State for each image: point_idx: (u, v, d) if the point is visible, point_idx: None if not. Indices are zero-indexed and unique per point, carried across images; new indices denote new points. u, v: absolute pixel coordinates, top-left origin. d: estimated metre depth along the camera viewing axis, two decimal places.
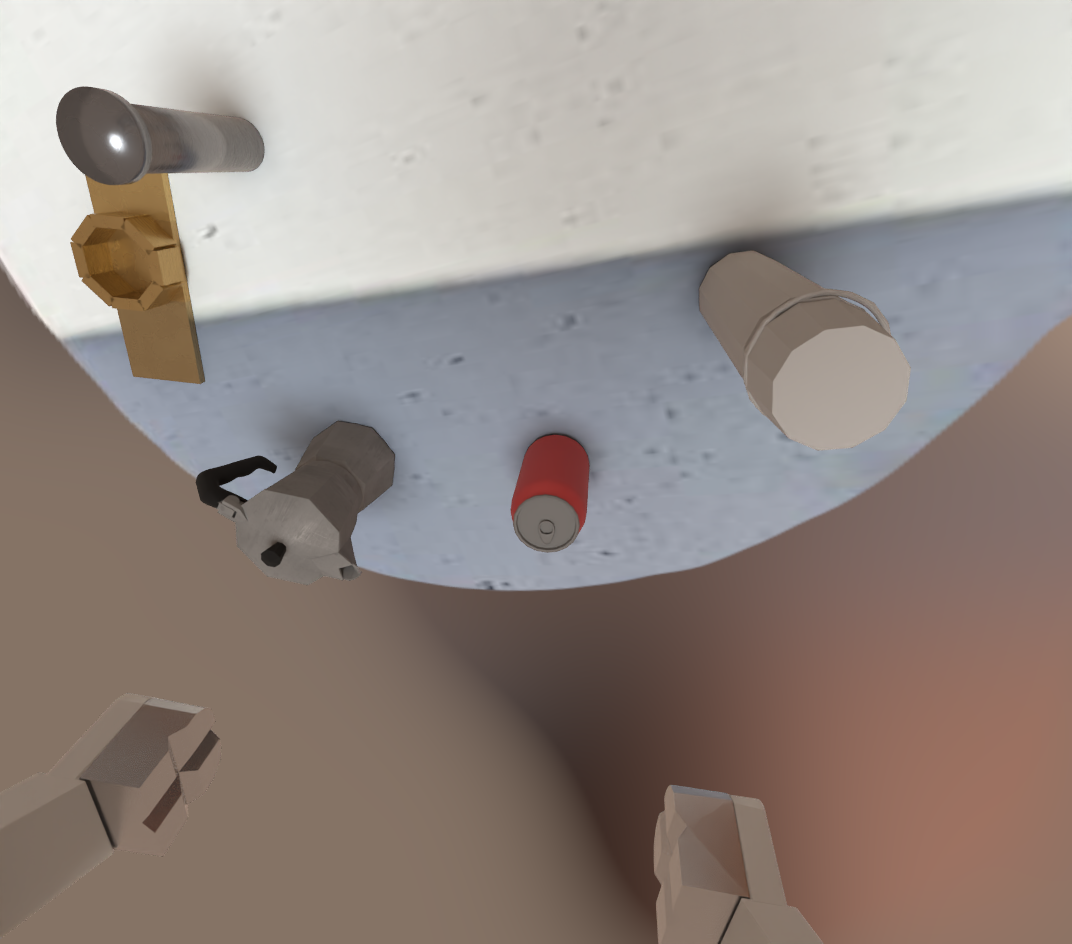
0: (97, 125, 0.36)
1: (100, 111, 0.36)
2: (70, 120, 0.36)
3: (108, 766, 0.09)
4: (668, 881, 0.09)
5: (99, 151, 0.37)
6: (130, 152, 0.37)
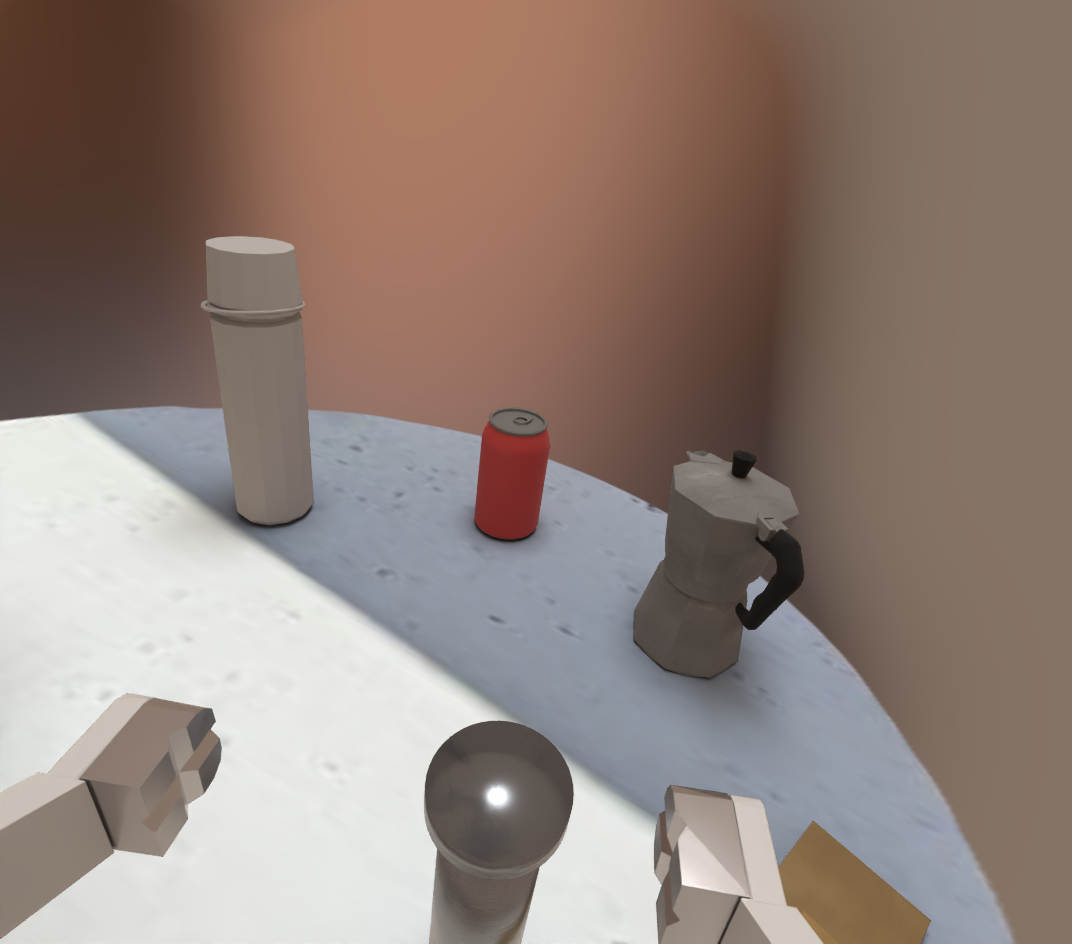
0: (484, 792, 0.21)
1: (460, 796, 0.21)
2: (511, 834, 0.20)
3: (108, 766, 0.09)
4: (668, 881, 0.09)
5: (519, 775, 0.22)
6: (483, 737, 0.23)
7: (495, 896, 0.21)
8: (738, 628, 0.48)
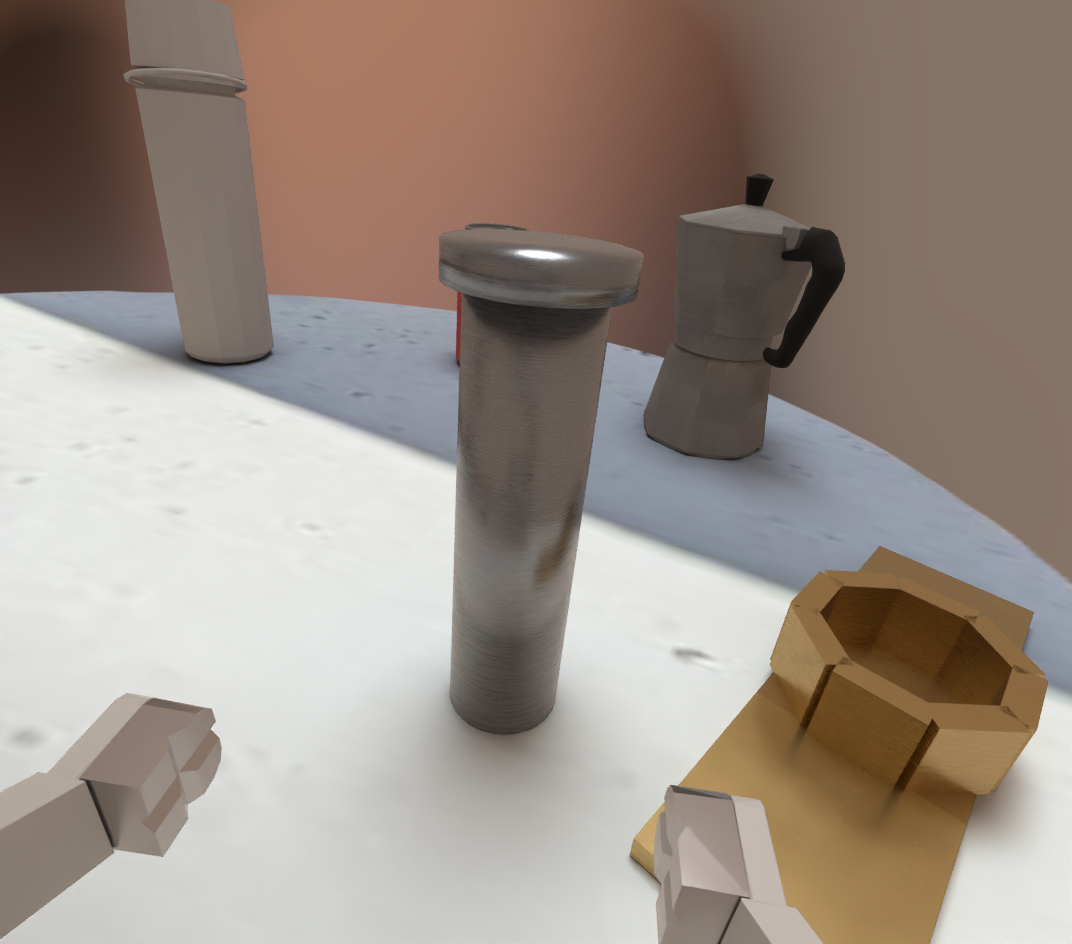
0: (522, 244, 0.15)
1: (489, 243, 0.15)
2: (567, 256, 0.14)
3: (108, 766, 0.09)
4: (668, 881, 0.09)
5: (566, 244, 0.16)
6: (510, 232, 0.17)
7: (547, 395, 0.15)
8: (763, 400, 0.43)
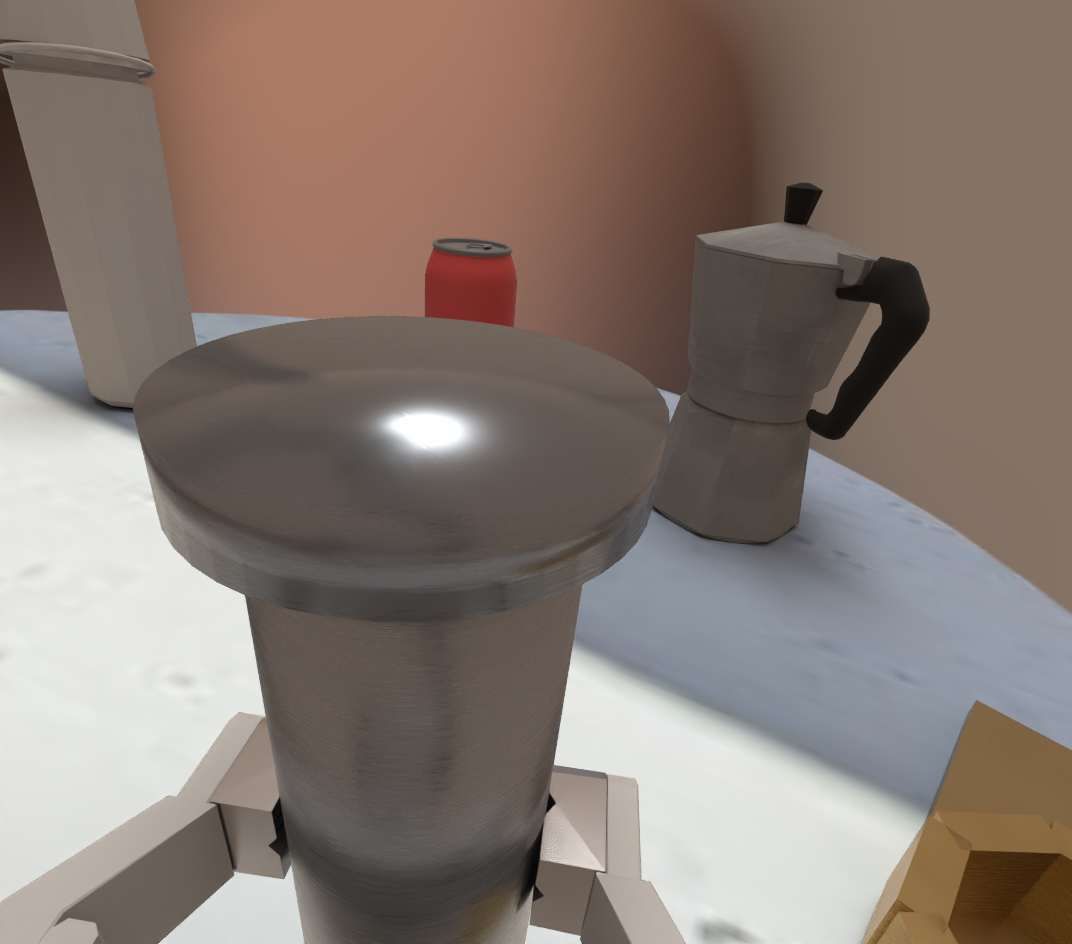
0: (366, 389, 0.06)
1: (274, 392, 0.06)
2: (460, 454, 0.05)
3: (236, 788, 0.09)
4: None
5: (487, 371, 0.07)
6: (378, 328, 0.08)
7: (430, 752, 0.06)
8: (800, 469, 0.34)
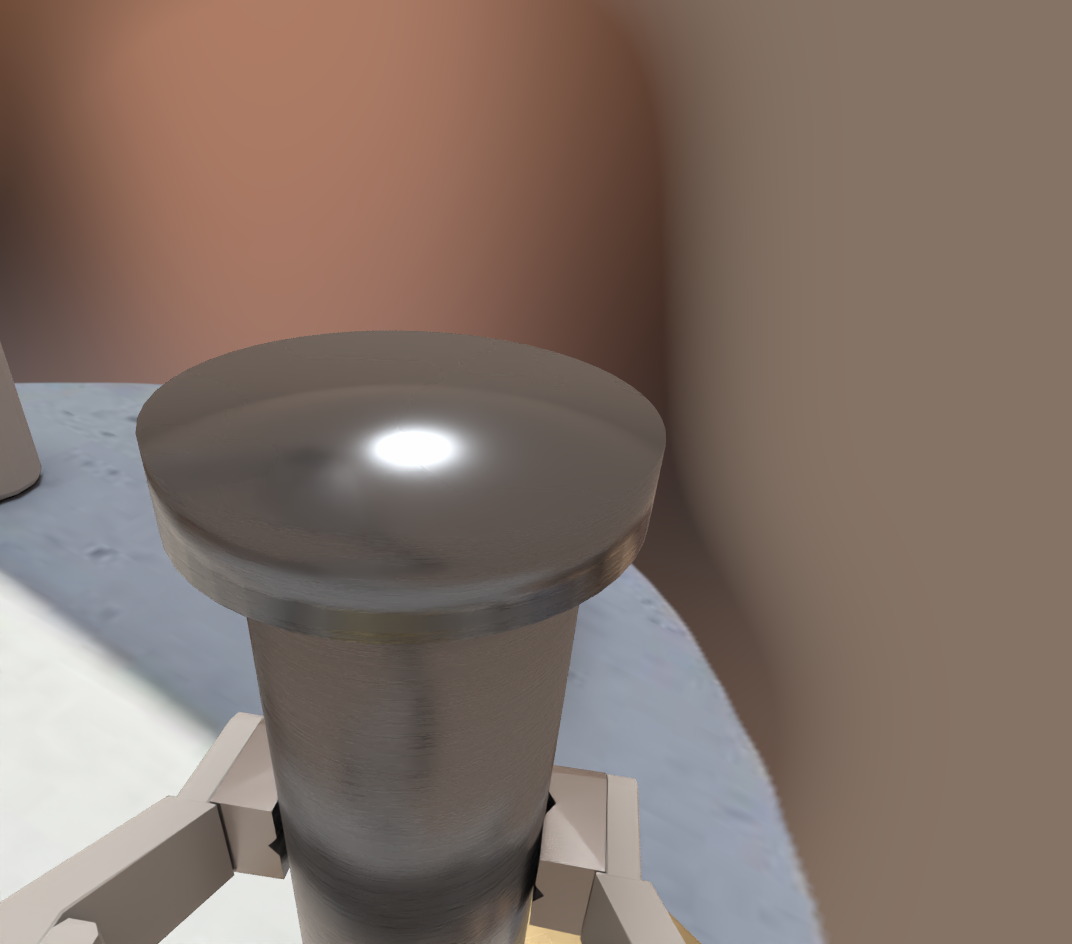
0: (365, 408, 0.06)
1: (275, 412, 0.06)
2: (458, 478, 0.05)
3: (236, 788, 0.09)
4: None
5: (486, 389, 0.07)
6: (378, 344, 0.08)
7: (429, 768, 0.06)
8: None
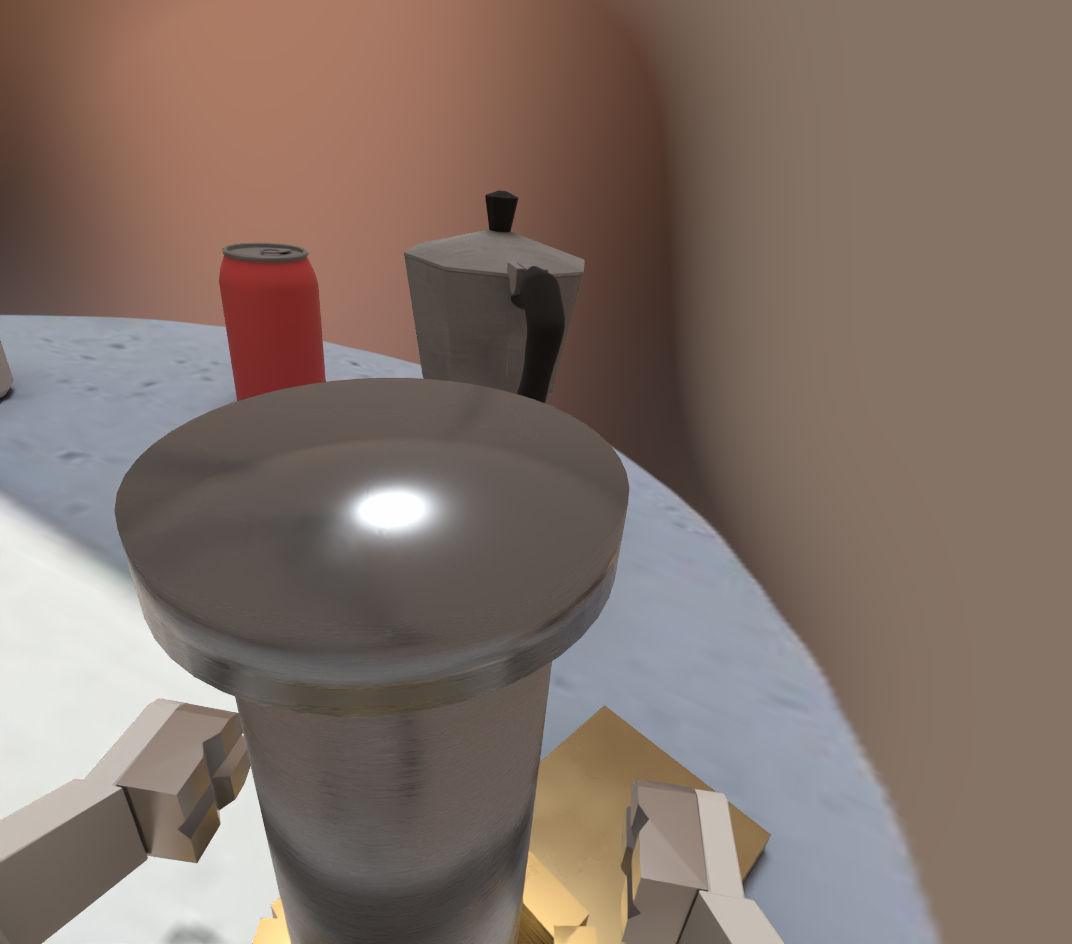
0: (338, 473, 0.06)
1: (250, 481, 0.06)
2: (420, 551, 0.05)
3: (145, 772, 0.09)
4: (631, 875, 0.10)
5: (457, 444, 0.07)
6: (356, 395, 0.08)
7: (406, 815, 0.07)
8: None
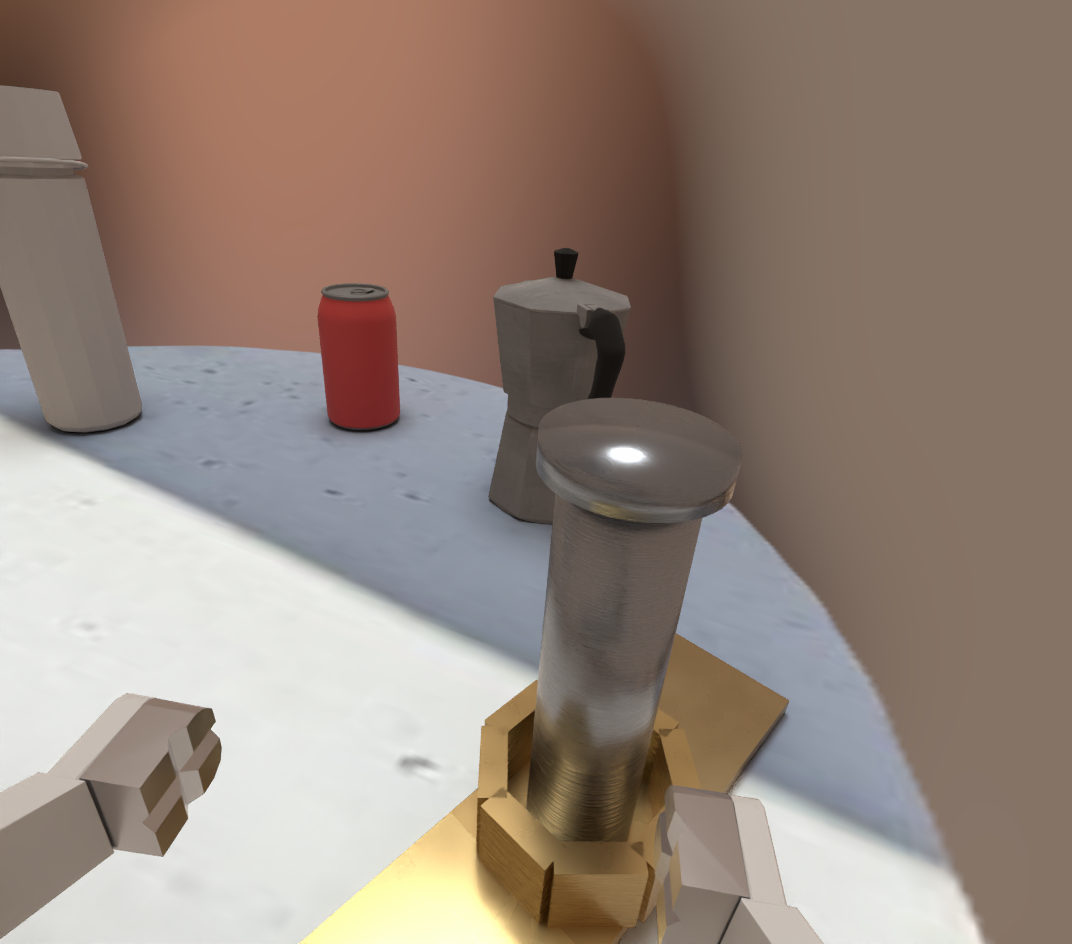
0: (621, 440, 0.15)
1: (591, 444, 0.15)
2: (675, 466, 0.14)
3: (108, 766, 0.09)
4: (668, 881, 0.09)
5: (659, 429, 0.16)
6: (598, 407, 0.17)
7: (648, 586, 0.16)
8: None
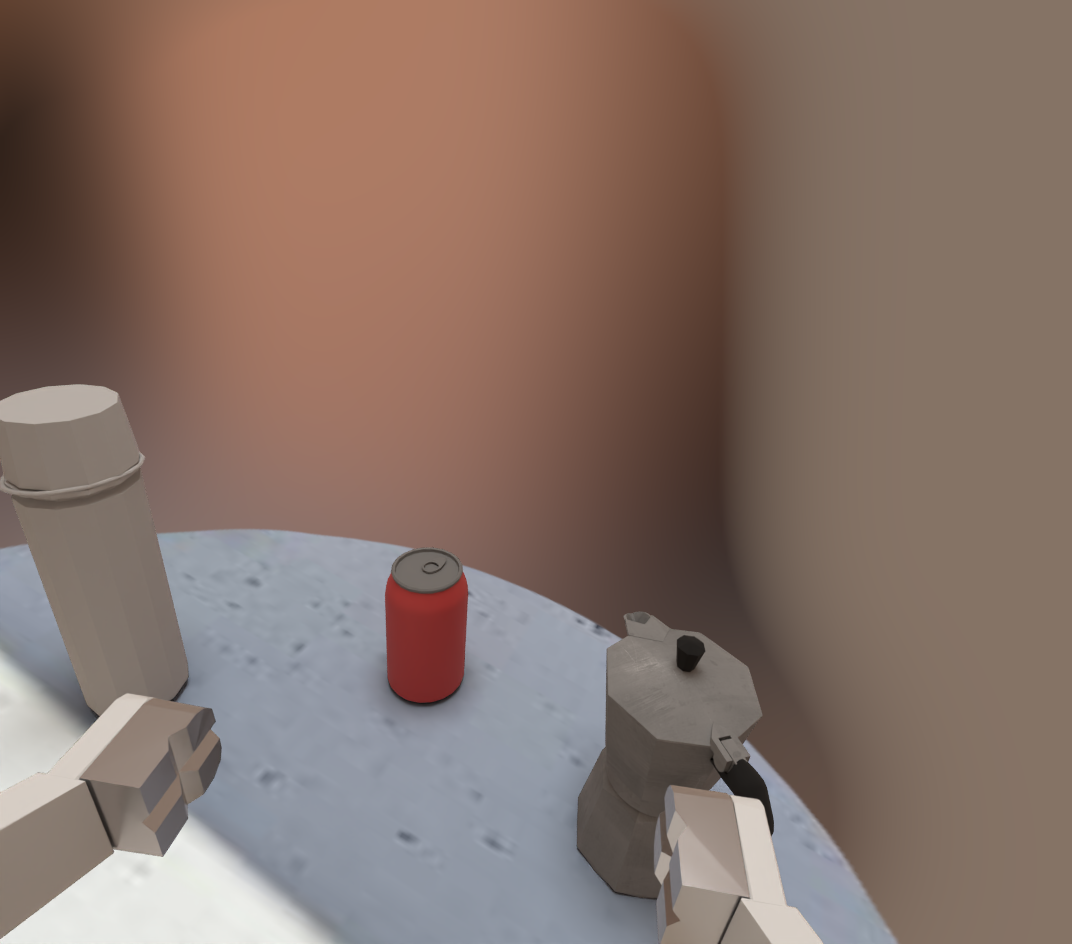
0: None
1: None
2: None
3: (108, 766, 0.09)
4: (668, 881, 0.09)
5: None
6: None
7: None
8: None
